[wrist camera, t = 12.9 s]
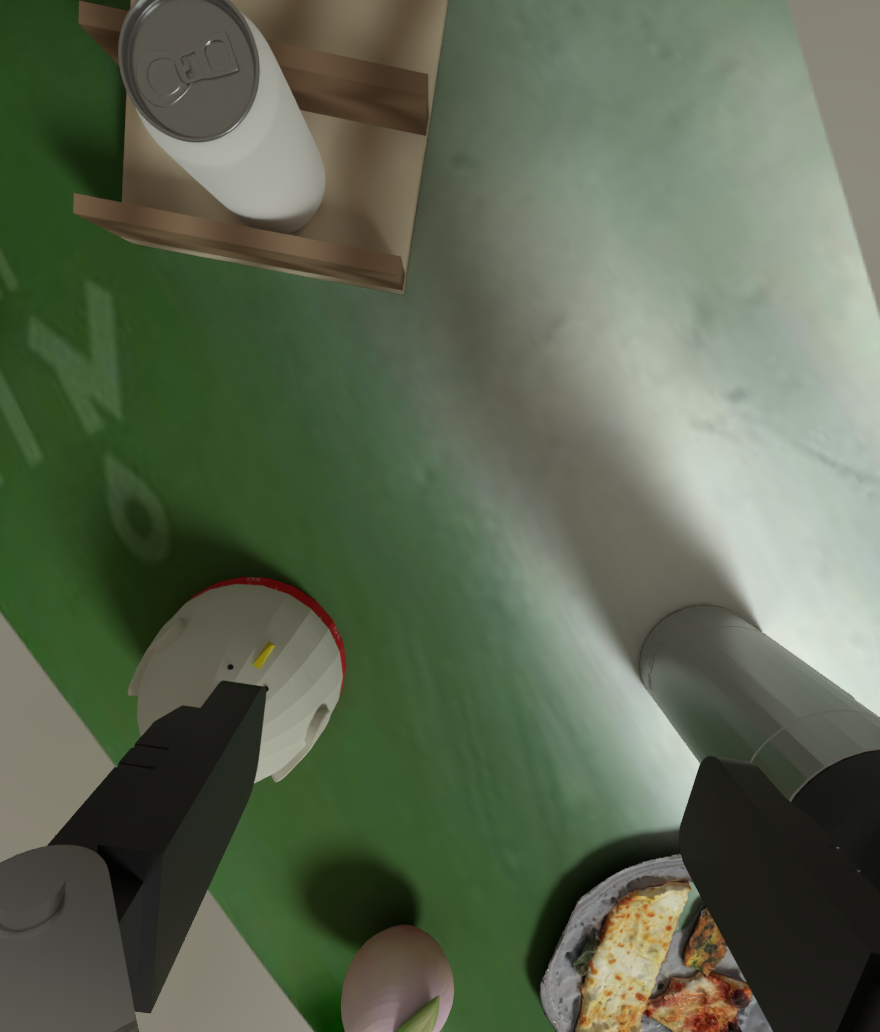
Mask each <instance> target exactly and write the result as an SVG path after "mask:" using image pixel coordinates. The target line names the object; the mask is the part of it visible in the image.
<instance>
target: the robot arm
mask: <svg viewBox="0 0 880 1032" xmlns="http://www.w3.org/2000/svg"><path fill="white" fill-rule="evenodd" d="M640 674H641V677H642V680H643V683H644V685H645V687H646V689H647V690H648V692H649V694H650V695H651V696H652V698H653V699H654V701H655V702H656V703H657V705H658V706H659V707H660V709H661V710H662V712H663V713H664V714H665V716H666V717H667V718H668V720H669V721H670V723H671V724H672V726H673V727H674V728H675V730H676V731H677V732H678V734H679V735H680V737H681V738H682V739H683V741H684V742H685V743H686V745H687V746H688V747H689V749H690V750H691V752H692V753H693V754H694V756H695V757H696V758H697V760H698V761H699V763H700V766H699V769H698V772H697V775H696V778H695V782H694V785H693V788H692V791H691V794H690V797H689V800H688V803H687V806H686V810H685V813H684V816H683V819H682V822H681V826H680V831H679V846H680V853H681V857H682V860H683V863H684V866H685V868H686V870H687V872H688V873H689V875H690V877H691V879H692V881H693V883H694V885H695V887H696V888H697V890H698V892H699V894H700V896H701V898H702V900H703V901H704V903H705V905H706V907H707V909H708V911H709V913H710V915H711V916H712V918H713V920H714V922H715V924H716V926H717V928H718V930H719V931H720V933H721V935H722V937H723V939H724V941H725V943H726V945H727V946H728V948H729V950H730V952H731V954H732V956H733V958H734V960H735V961H736V963H737V965H738V967H739V969H740V971H741V973H742V974H743V976H744V978H745V980H746V982H747V984H748V986H749V988H750V989H751V991H752V993H753V995H754V997H755V999H756V1001H757V1003H758V1004H759V1006H760V1008H761V1010H762V1012H763V1014H764V1016H765V1018H766V1019H767V1021H768V1023H769V1025H770V1027H771V1029H772V1031H773V1032H880V717H878V716H877V715H876V714H874V713H873V712H871V711H870V710H869V709H867V708H866V707H864V706H863V705H862V704H860V703H859V702H857V701H856V700H855V699H854V698H853V697H852V696H851V695H850V694H848V693H847V692H846V691H844V690H843V689H841V688H840V687H839V686H837V685H836V684H834V683H833V682H832V681H830V680H829V679H827V678H826V677H825V676H823V675H822V674H820V673H819V672H818V671H816V670H815V669H813V668H812V667H811V666H809V665H808V664H806V663H805V662H804V661H802V660H801V659H799V658H798V657H797V656H795V655H794V654H792V653H791V652H790V651H788V650H787V649H785V648H784V647H783V646H781V645H780V644H778V643H777V642H776V641H774V640H773V639H771V638H770V637H769V636H767V635H766V634H764V633H762V632H760V631H759V630H757V629H756V628H755V627H753V626H752V625H750V624H749V623H747V622H746V621H745V620H743V619H742V618H740V617H739V616H737V615H736V614H735V613H733V612H731V611H729V610H726V609H724V608H722V607H716V606H710V605H703V606H693V607H689V608H684V609H682V610H680V611H677V612H675V613H673V614H671V615H670V616H668V617H667V618H665V619H664V620H662V621H661V622H660V623H659V624H658V625H657V626H656V627H655V628H654V629H653V630H652V632H651V633H650V635H649V636H648V638H647V639H646V642H645V644H644V647H643V649H642V652H641V658H640ZM265 703H266V688H265V687H264V686H257V685H251V684H244V683H238V682H231V681H225V680H223V681H221V682H220V683H219V684H218V685H217V686H216V688H215V689H214V690H213V692H212V693H211V694H210V696H209V697H208V698H207V700H206V701H205V702H204V704H203V705H202V706H201V708H198V707H191V706H185V705H182V706H180V707H178V708H177V709H175V710H173V711H171V712H170V713H168V714H166V715H165V716H163V717H161V718H159V719H158V720H156V721H154V722H153V723H152V725H151V726H150V727H149V728H148V729H147V730H146V732H145V733H144V734H143V735H142V736H141V737H140V739H139V740H138V741H137V742H136V743H135V746H134V748H131V749H130V750H129V751H128V752H127V754H126V755H125V756H124V757H123V758H122V759H121V761H120V762H119V765H118V767H117V768H116V767H115V768H114V769H113V770H112V771H111V772H110V773H109V775H108V776H107V777H106V778H105V779H104V780H103V781H102V783H101V784H100V785H99V786H98V787H97V788H96V790H95V791H94V792H93V793H92V794H91V796H90V797H89V798H88V799H87V800H86V801H85V802H84V804H83V805H82V806H81V807H80V808H79V809H78V810H77V812H76V813H75V814H74V815H73V816H72V817H71V819H70V820H69V821H68V822H67V823H66V824H65V826H64V827H63V828H62V829H61V830H60V831H59V833H58V834H57V835H56V836H55V837H54V838H53V840H52V841H51V842H50V843H49V844H48V845H47V846H45V847H40V848H36V849H32V850H29V851H26V852H24V853H21V854H18V855H15V856H13V857H11V858H9V859H7V860H5V861H3V862H1V863H0V1032H139V1029H138V1025H137V1020H136V1015H135V1012H143V1013H151V1011H152V1009H153V1007H154V1005H155V1003H156V1001H157V998H158V996H159V994H160V992H161V989H162V987H163V985H164V983H165V981H166V979H167V977H168V974H169V972H170V970H171V968H172V966H173V964H174V961H175V959H176V957H177V955H178V953H179V950H180V948H181V946H182V944H183V942H184V940H185V937H186V935H187V933H188V931H189V929H190V927H191V924H192V922H193V920H194V917H195V916H196V914H197V911H198V909H199V907H200V905H201V903H202V900H203V898H204V896H205V894H206V892H207V890H208V887H209V885H210V883H211V881H212V879H213V877H214V874H215V872H216V870H217V868H218V866H219V864H220V861H221V859H222V857H223V855H224V853H225V850H226V848H227V846H228V844H229V842H230V840H231V837H232V835H233V833H234V831H235V829H236V827H237V824H238V822H239V820H240V818H241V816H242V814H243V811H244V809H245V807H246V805H247V802H248V800H249V797H250V795H251V792H252V788H253V785H254V781H255V777H256V773H257V768H258V762H259V754H260V745H261V737H262V729H263V720H264V712H265Z"/></svg>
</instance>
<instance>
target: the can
mask: <svg viewBox="0 0 880 1032" xmlns="http://www.w3.org/2000/svg"><path fill="white" fill-rule="evenodd" d="M118 59H119V67H120V73H121V77H122V80H123V83H124V86H125V89H126V91H127V93H128V95H129V97H130V99H131V101H132V103H133V104H134V106H135V108H136V110H137V113H138V115H139V117H140V119H141V121H142V123H143V125H144V126H145V128H146V129H147V131H148V132H149V134H150V135H151V136H152V137H153V139H154V140H155V141H156V142H157V143H158V144H159V145H160V147H161V148H162V149H163V150H164V151H165V152H166V153H167V154H169V155H170V156H171V157H172V158H173V159H174V160H175V161H176V162H177V163H178V164H179V165H180V166H181V167H182V168H184V169H185V170H186V171H187V172H188V173H189V174H190V175H191V176H192V177H193V178H194V179H195V180H197V181H198V182H199V183H200V184H201V185H202V186H203V187H204V188H205V189H206V190H207V191H209V192H210V193H211V194H212V195H213V196H214V197H215V198H216V199H217V200H218V201H220V202H221V203H222V204H223V205H224V206H225V207H226V208H227V209H228V210H230V211H231V212H232V213H233V214H234V215H235V216H236V217H237V218H239V219H240V220H241V221H242V222H243V223H245V224H246V225H248V226H249V227H251V228H257V229H262V230H267V231H272V232H277V233H282V234H287V233H291V232H294V231H296V230H298V229H300V228H301V227H303V226H304V225H306V224H307V223H308V222H309V221H310V220H311V219H312V218H313V217H314V215H315V214H316V212H317V211H318V209H319V207H320V205H321V202H322V200H323V196H324V191H325V170H324V165H323V161H322V158H321V155H320V153H319V150H318V148H317V146H316V144H315V141H314V139H313V137H312V135H311V133H310V130H309V128H308V126H307V124H306V122H305V120H304V117H303V115H302V113H301V111H300V109H299V107H298V105H297V102H296V100H295V98H294V96H293V94H292V92H291V90H290V87H289V85H288V83H287V81H286V79H285V77H284V75H283V73H282V71H281V68H280V66H279V64H278V62H277V60H276V58H275V56H274V54H273V52H272V50H271V48H270V47H269V45H268V43H267V41H266V40H265V38H264V37H263V35H262V34H261V32H260V31H259V30H258V28H257V27H256V26H255V25H254V24H253V22H252V21H251V20H250V19H249V18H247V17H246V16H245V15H244V14H243V13H242V12H240V11H239V10H238V9H237V8H236V7H235V5H234V4H233V3H232V2H231V1H230V0H136V2H135V3H134V4H133V5H132V7H131V8H130V10H129V12H128V13H127V15H126V17H125V20H124V22H123V25H122V28H121V32H120V37H119V45H118Z"/></svg>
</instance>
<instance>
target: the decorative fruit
mask: <svg viewBox="0 0 880 1032" xmlns="http://www.w3.org/2000/svg"><path fill="white" fill-rule="evenodd" d="M453 997H454V982H453V975H452V972H451V968H450V965H449V962H448V960H447V957H446V955H445V953H444V952H443V950H442V949H441V947H440V946H439V944H438V943H437V942H436V941H435V940H434V939H433V937H431V936H430V935H429V934H428V933H426V932H425V931H423V930H421V929H419V928H417V927H415V926H411V925H398V926H393V927H390V928H388V929H386V930H383V931H381V932H380V933H378V934H376V935H374V936H373V937H372V938H370V939H369V940H368V941H367V942H366V943H365V944H364V945H363V946H362V947H361V948H360V950H359V951H358V952H357V954H356V955H355V957H354V958H353V960H352V962H351V964H350V966H349V968H348V971H347V973H346V976H345V980H344V985H343V991H342V1001H341V1013H342V1021H343V1026H344V1029H345V1032H439V1031H440V1030H441V1028H442V1027H443V1025H444V1024H445V1022H446V1020H447V1017H448V1015H449V1012H450V1010H451V1007H452V1002H453Z"/></svg>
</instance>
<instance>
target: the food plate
mask: <svg viewBox="0 0 880 1032" xmlns="http://www.w3.org/2000/svg"><path fill="white" fill-rule="evenodd" d="M689 881H690V882H693V881H692V879H691V877H690V875H689V873H688V872H687V870H686V868H685V866H684V863H683V860H682V857H681V855H680V854H677V855H672V856H671V857H669V856H668V857H664V858H659V859H657V858H656V860H654V859H653V860H650V861H648V862H647V861H645V862H641V863H639V865H638V864H636V865H634V866H633V867H632V866H630V867H629V868H628V869H627V868H625V869H624V870H622V871H620V872H618V873H616V874H615V875H613V876H610V877H609V878H607V879H606V881H603V882H601V883H600V884H598V885H597V886H596V887H594V888H593V889H592V890H591V891H590V892H588V893H587V894H585V895H584V896H582V897H581V898H580V900H579V901H577V905H576V906H575V909H574V911H573V913H572V915H571V916H570V919H569V922H568V924H567V926H566V927H565V930H564V932H562V936H561V937H560V940H559V942H558V945H557V947H556V949H555V952H554V955H553V956H552V958H551V960H550V963H549V965H548V969H547V970H546V972H545V975H544V977H543V978H542V980H543V981H541V983H540V984H541V985H540V988H541V989H540V990H541V991H540V996H539V997H540V1002H541V1005H542V1008H543V1010H544V1014H545V1015H546V1016H547V1018H548V1020H549V1022H550V1023H551V1025H552V1026H553V1027H554V1029H555V1031H556V1032H773V1031H772V1029H771V1027H770V1025H769V1023H768V1021H767V1019H766V1018H765V1016H764V1014H763V1012H762V1010H761V1008H760V1006H759V1004H758V1003H757V1001H756V999H755V997H754V995H753V993H752V991H751V989H750V988H749V986H748V984H747V982H746V980H745V978H744V976H743V974H742V973H741V971H740V969H739V967H738V965H737V963H736V961H735V960H734V958H733V956H732V954H731V952H730V950H729V948H728V946H727V945H726V943H725V941H724V939H723V937H722V935H721V933H720V931H719V930H718V928H717V926H716V924H715V922H714V920H713V918H712V916H711V915H710V913H709V911H708V909H707V907H706V905H705V903H703V904H702V905H701V906H700V908H699V910H698V913H697V914H696V915H695V917H694V918H693V919H692V920H691V921H690V924H688V925H685V926H688V927H687V928H684V929H683V930H682V932H676V933H674V931H677V930H678V929H679V927H678V926H679V925H678V924H679V921H680V915H681V913H682V911H683V909H684V906H685V902H686V901H687V898H688V891H690V890H691V887H690V886H689ZM691 922H692V923H691ZM685 935H687V936H685ZM659 984H664V986H663V988H662V989H658V988H657V987H658V985H659Z"/></svg>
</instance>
